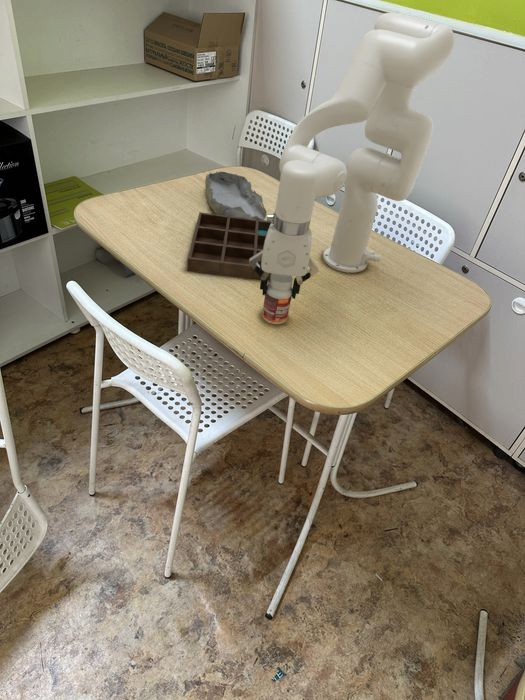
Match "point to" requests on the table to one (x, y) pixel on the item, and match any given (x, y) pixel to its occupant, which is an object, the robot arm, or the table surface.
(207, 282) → the table surface
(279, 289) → the pill bottle
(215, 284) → the table surface
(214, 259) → the grid board
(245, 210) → the stone
